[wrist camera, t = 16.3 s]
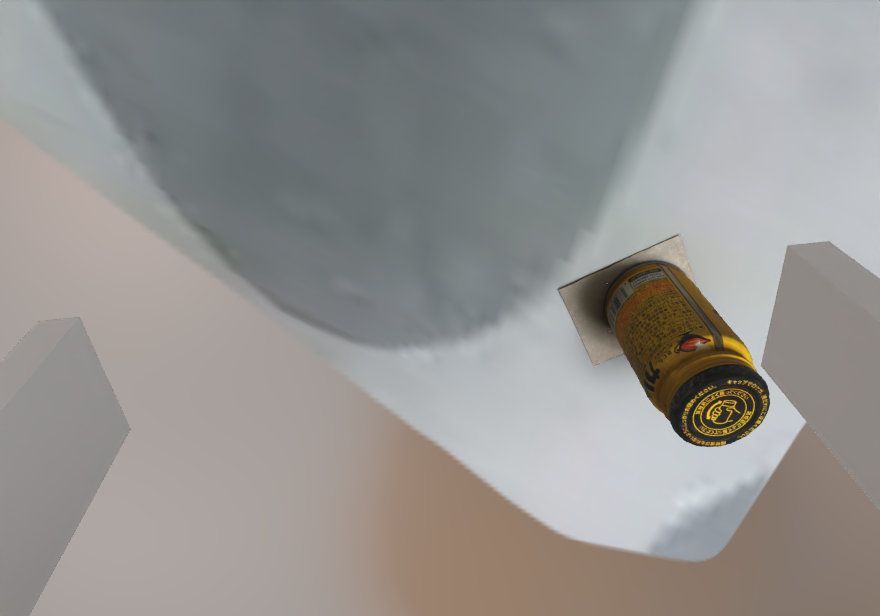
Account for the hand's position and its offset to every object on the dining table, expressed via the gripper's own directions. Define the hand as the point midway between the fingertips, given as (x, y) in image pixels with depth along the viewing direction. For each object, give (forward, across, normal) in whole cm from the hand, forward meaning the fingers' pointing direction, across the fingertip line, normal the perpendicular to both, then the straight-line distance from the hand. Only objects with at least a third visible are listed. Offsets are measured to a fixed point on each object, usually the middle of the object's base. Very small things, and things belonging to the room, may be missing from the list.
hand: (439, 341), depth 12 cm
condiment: (+27, +13, -16) cm, 34 cm away
